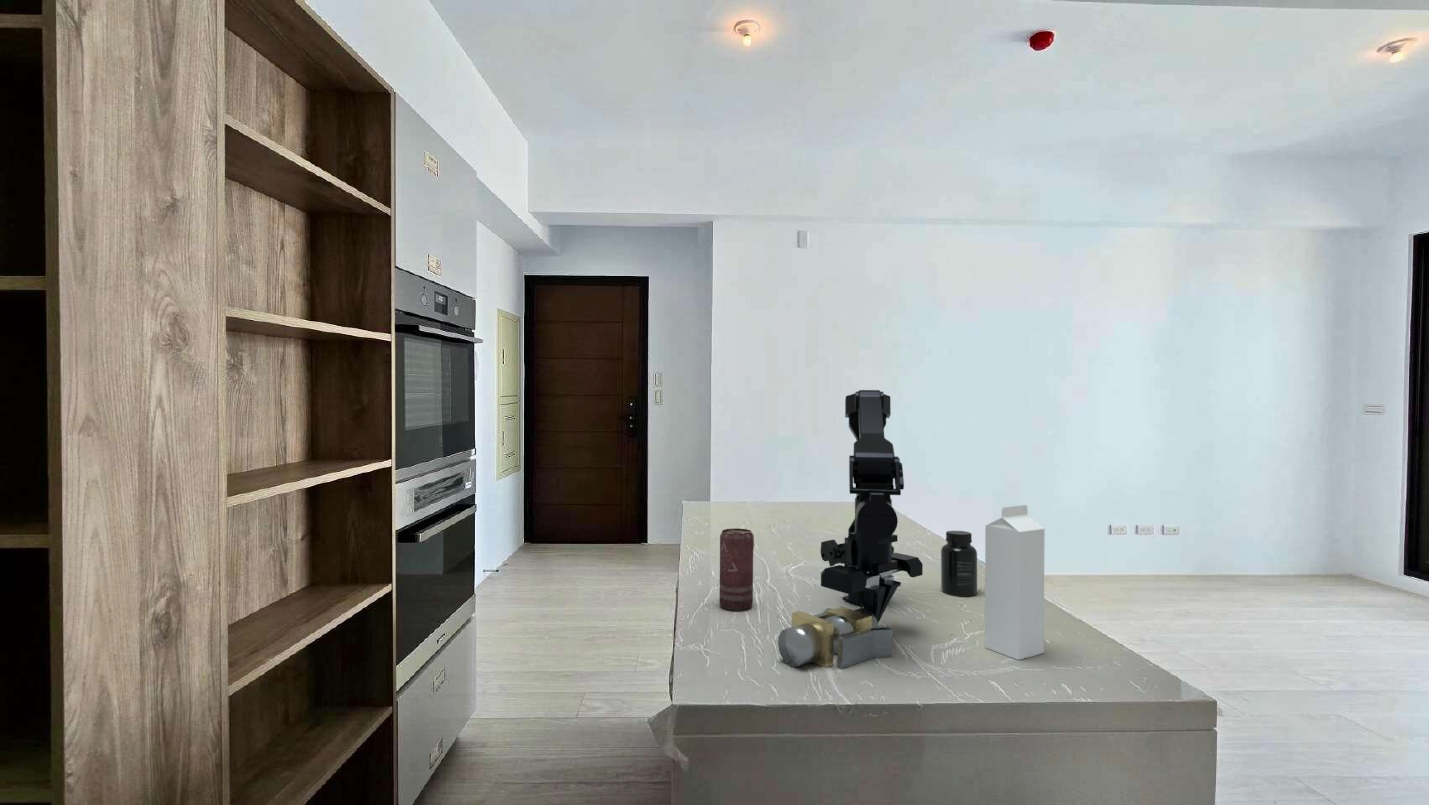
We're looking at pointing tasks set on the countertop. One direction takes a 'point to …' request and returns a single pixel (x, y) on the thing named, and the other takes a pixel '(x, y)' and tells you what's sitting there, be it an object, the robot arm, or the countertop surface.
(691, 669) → the countertop surface
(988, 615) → the milk
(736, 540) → the can
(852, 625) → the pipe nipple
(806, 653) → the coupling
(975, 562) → the supplement bottle
